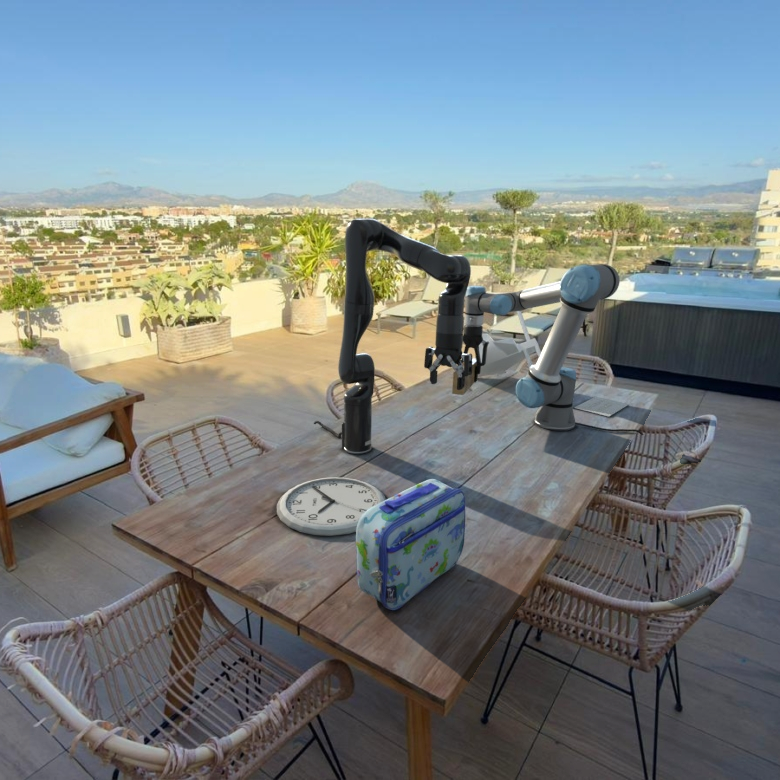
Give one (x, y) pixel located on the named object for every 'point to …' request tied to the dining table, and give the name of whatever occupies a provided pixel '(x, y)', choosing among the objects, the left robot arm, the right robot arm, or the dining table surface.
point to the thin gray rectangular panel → (601, 406)
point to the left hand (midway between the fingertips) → (446, 386)
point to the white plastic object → (507, 352)
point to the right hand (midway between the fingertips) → (469, 380)
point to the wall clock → (327, 505)
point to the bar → (468, 380)
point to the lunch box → (409, 541)
